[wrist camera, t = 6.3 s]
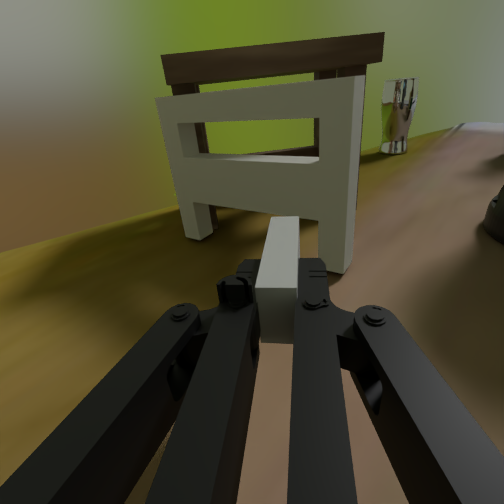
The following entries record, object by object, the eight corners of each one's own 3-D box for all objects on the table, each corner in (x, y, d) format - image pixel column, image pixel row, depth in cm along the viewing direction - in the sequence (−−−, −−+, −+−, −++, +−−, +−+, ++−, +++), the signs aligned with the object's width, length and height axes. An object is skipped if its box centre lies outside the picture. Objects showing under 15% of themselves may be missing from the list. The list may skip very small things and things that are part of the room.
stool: (367, 219, 39) (384, 31, 30) (198, 242, 38) (160, 55, 29) (327, 186, 53) (331, 50, 43) (202, 202, 52) (177, 66, 42)
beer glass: (377, 149, 75) (384, 79, 68) (409, 148, 72) (419, 76, 65) (375, 155, 69) (382, 80, 62) (409, 155, 67) (421, 77, 60)
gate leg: (343, 274, 28) (354, 76, 21) (185, 236, 39) (154, 97, 31) (351, 261, 30) (365, 75, 22) (198, 229, 41) (172, 95, 33)
